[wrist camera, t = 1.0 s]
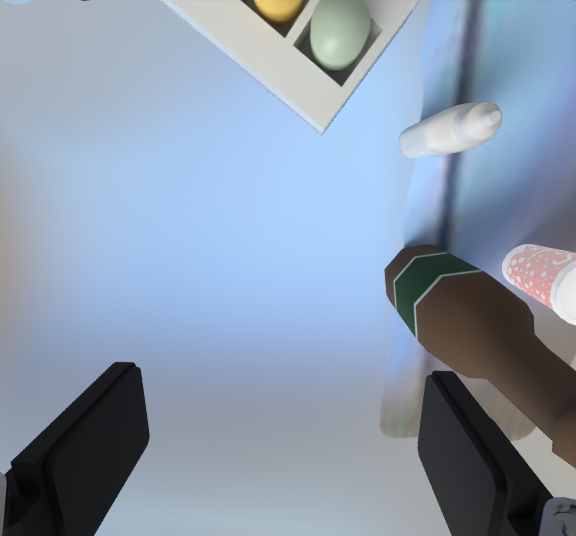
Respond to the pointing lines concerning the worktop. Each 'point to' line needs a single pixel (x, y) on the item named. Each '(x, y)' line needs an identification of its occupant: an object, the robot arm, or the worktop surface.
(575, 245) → the worktop surface
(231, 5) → the white slotted frame
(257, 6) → the button amber
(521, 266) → the beverage cup
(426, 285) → the beer bottle
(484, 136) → the eye dropper bottle
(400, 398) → the worktop surface
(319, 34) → the button sage
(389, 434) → the worktop surface
